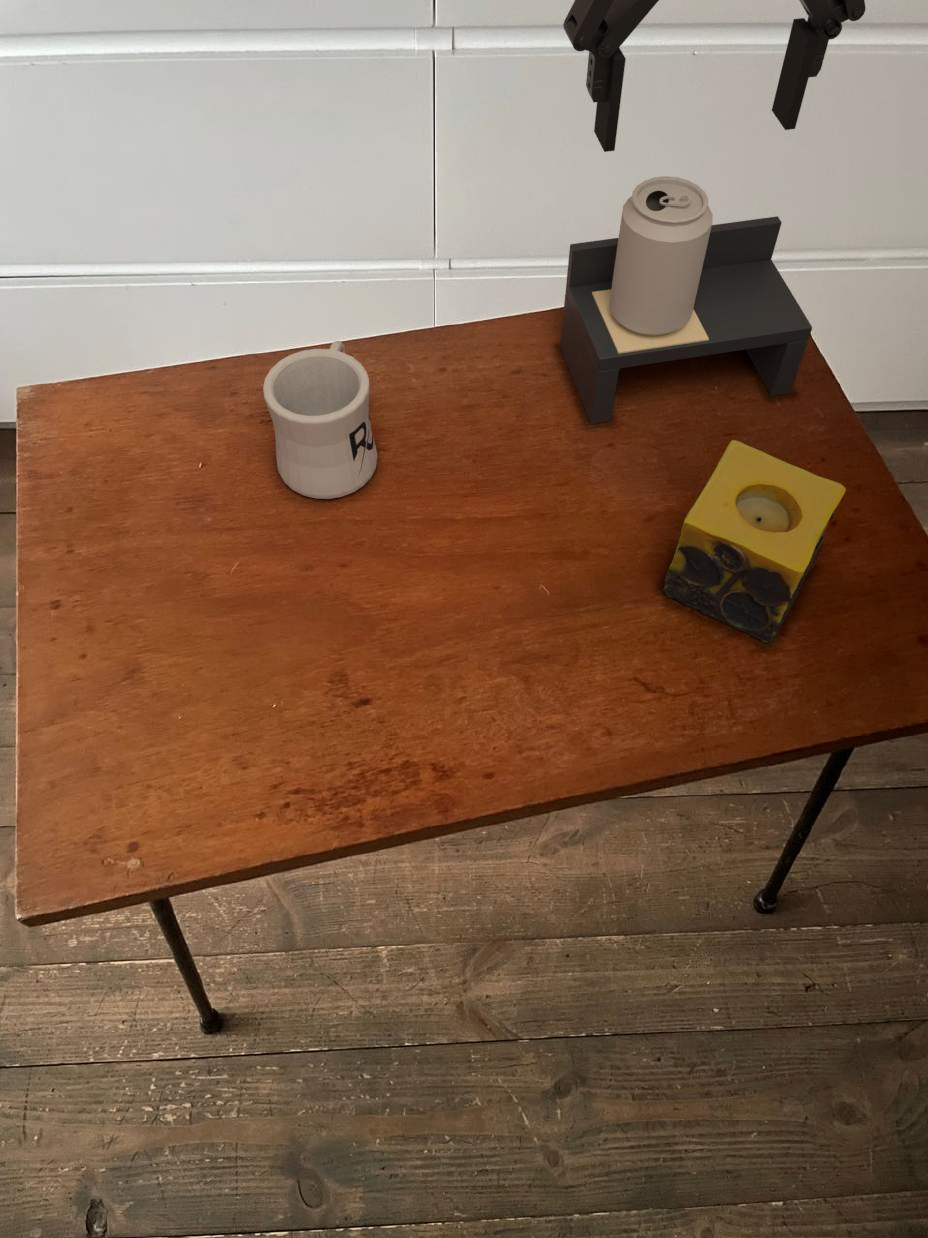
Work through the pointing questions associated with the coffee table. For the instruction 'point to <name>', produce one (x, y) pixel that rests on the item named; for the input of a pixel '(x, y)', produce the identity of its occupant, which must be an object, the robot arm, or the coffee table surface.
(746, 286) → the shelf
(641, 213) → the can
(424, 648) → the coffee table surface
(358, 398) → the mug
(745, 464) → the candle
